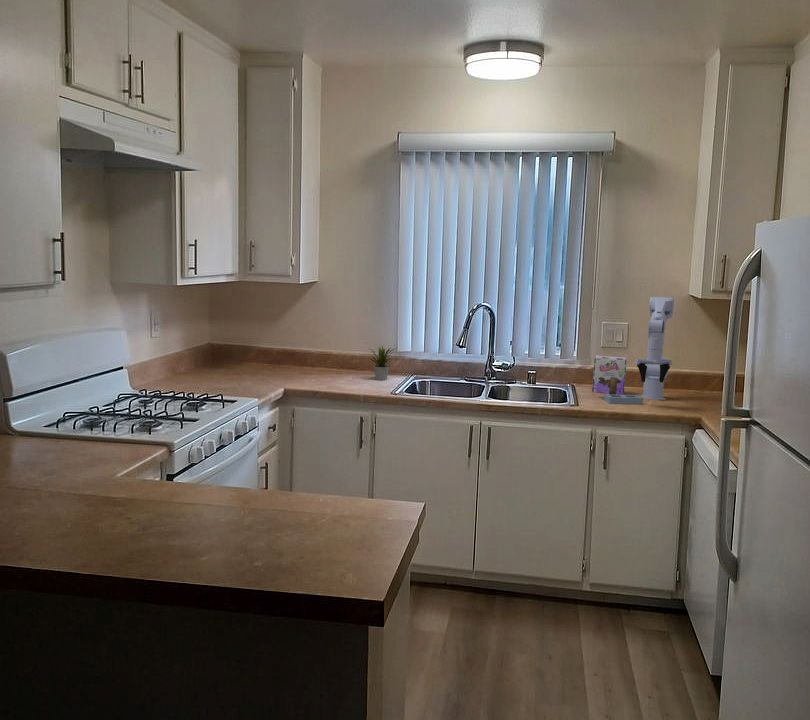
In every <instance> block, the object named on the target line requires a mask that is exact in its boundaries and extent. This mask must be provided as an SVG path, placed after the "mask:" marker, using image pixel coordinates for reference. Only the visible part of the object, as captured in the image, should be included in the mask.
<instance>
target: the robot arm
mask: <svg viewBox="0 0 810 720" xmlns="http://www.w3.org/2000/svg"><path fill="white" fill-rule="evenodd" d="M674 306H675V298H674V297H663V296H650V298H649V315H650V316H649V317H650V320H648V324H647V338H648V339H647V352H646V358H636V359H635V364H636V366H637V368H638V371H639V374H640V379H641V383H643V386H642V387H643V388H642V394H640V397H642V398H644V399H648V400H658V401H666V400H667V399H666V398H665V397H663V395H664V384H665V383H664V381H665V379H667V378H668V375H669V374H668V372H669V370H670V368H671V366H672V365H673V360H671V359H667V358H666V357H665V356H664V355H663V354H664V343H665V330H666V323H667V321H668V320H669V319H671V318H673V313H674Z"/></svg>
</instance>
